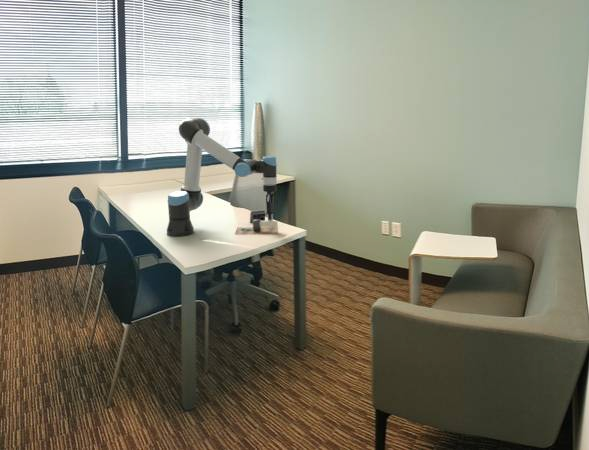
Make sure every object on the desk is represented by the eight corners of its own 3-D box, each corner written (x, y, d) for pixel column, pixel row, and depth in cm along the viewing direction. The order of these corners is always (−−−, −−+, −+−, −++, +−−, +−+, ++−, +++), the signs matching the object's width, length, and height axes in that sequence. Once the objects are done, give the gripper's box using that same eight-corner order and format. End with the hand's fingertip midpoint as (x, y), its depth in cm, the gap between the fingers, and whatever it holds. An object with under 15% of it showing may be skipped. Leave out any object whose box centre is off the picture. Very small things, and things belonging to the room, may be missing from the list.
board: (234, 236, 272) (234, 233, 272) (237, 229, 288) (237, 226, 287) (277, 236, 273) (277, 233, 272) (277, 229, 288) (277, 226, 288)
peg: (240, 230, 280) (239, 220, 278) (242, 228, 284) (242, 218, 283) (276, 232, 275) (276, 222, 274) (278, 230, 279) (278, 220, 278)
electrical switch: (263, 222, 304) (263, 208, 301) (266, 225, 299) (266, 211, 296) (249, 224, 300) (249, 210, 297) (252, 227, 296) (252, 212, 293)
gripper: (265, 181, 279) (266, 221, 286) (261, 186, 267) (261, 227, 273) (278, 182, 278) (278, 222, 285) (274, 186, 266) (274, 228, 272)
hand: (270, 224), depth 279 cm, fingers closed
